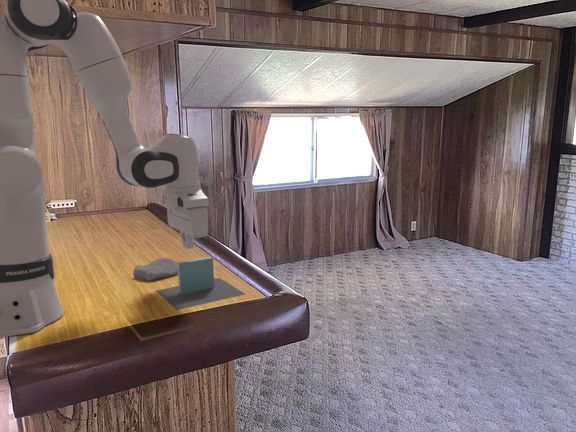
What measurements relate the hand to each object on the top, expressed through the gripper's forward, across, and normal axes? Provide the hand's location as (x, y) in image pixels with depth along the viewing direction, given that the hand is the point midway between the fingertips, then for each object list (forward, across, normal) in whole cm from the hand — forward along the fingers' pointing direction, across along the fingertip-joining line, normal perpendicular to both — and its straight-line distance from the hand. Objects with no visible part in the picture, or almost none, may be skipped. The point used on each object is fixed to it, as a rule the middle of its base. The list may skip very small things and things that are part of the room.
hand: (188, 247), depth 126 cm
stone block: (+11, -14, -4) cm, 18 cm away
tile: (+10, +6, -1) cm, 12 cm away
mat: (+11, +8, -1) cm, 13 cm away
